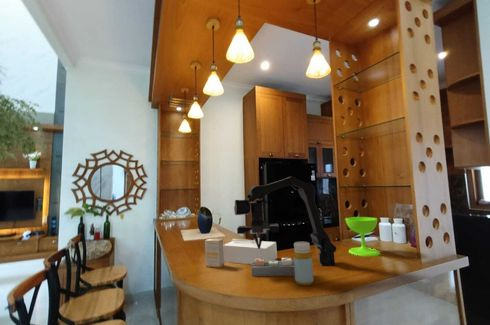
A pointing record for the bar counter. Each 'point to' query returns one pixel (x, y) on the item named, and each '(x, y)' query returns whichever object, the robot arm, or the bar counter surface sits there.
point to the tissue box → (249, 251)
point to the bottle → (303, 263)
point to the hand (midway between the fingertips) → (259, 248)
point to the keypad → (273, 269)
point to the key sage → (273, 263)
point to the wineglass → (362, 234)
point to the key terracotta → (259, 262)
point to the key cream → (286, 261)
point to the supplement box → (214, 253)
